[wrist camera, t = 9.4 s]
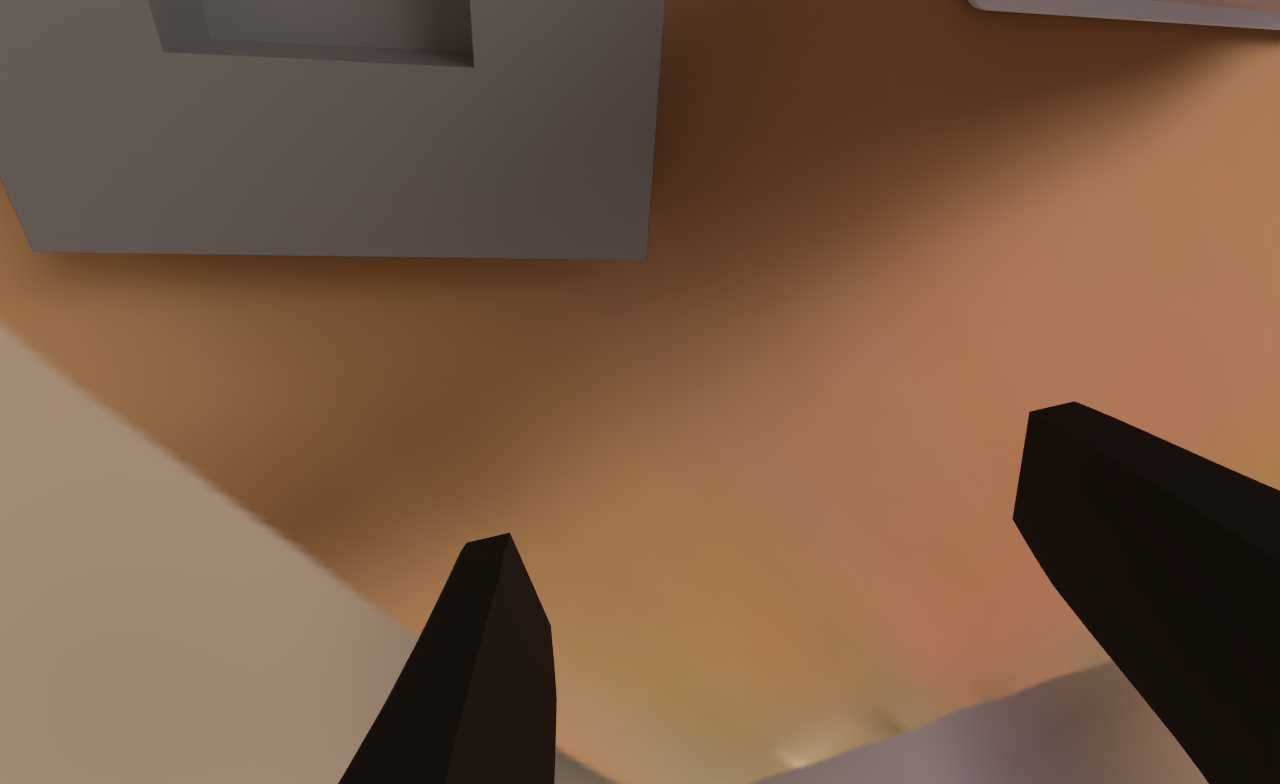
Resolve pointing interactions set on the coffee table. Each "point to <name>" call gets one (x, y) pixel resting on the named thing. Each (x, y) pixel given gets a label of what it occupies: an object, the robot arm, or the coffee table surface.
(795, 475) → the coffee table surface
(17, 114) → the block
